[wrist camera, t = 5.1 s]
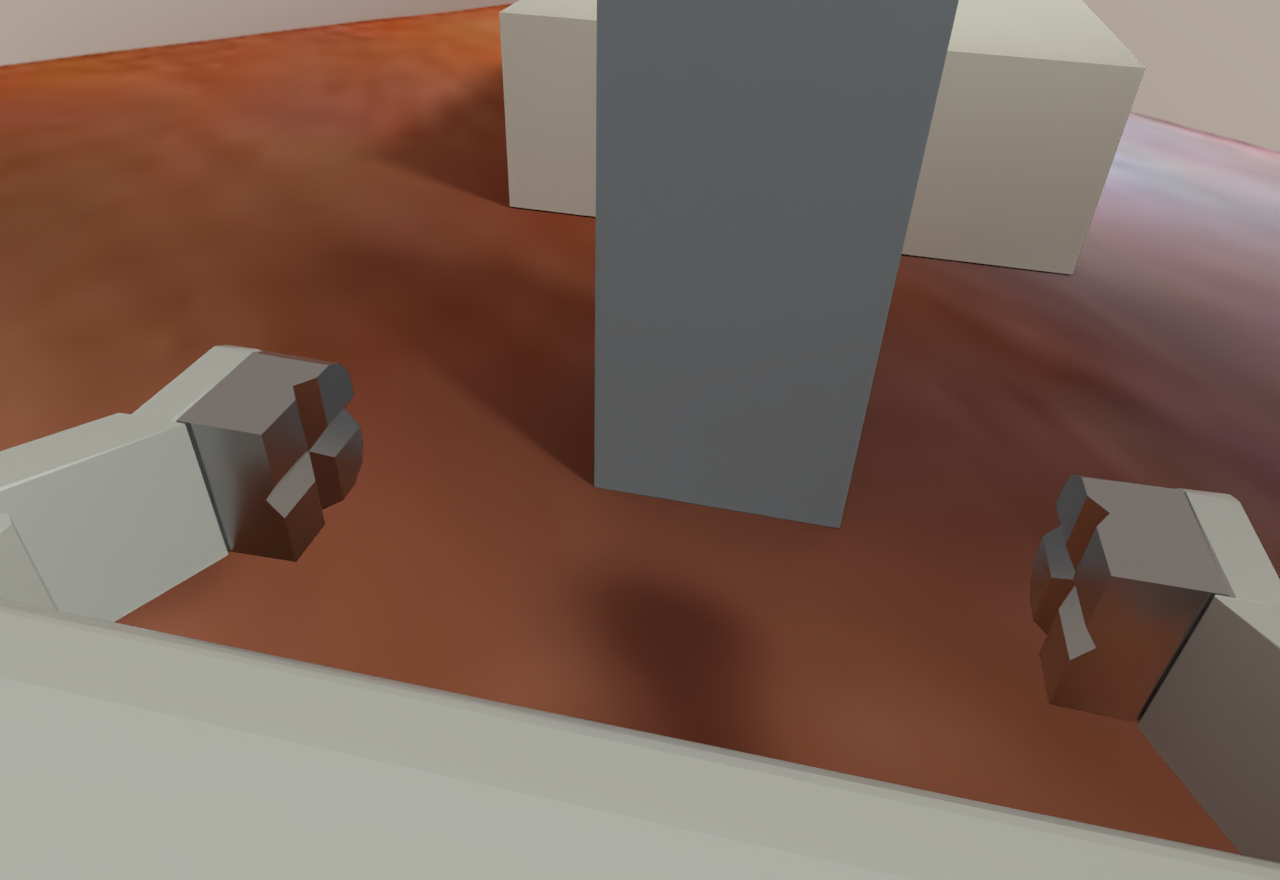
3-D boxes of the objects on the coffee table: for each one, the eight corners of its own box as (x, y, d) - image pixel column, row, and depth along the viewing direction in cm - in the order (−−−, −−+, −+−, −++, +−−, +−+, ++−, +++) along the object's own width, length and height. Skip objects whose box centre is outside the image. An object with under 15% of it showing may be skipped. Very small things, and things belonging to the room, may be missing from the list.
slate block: (847, 393, 22) (946, -85, 16) (839, 528, 18) (968, -42, 12) (645, 363, 22) (666, -103, 16) (594, 486, 18) (597, -68, 12)
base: (1017, 134, 38) (1062, -21, 35) (1072, 274, 27) (1145, 67, 24) (610, 94, 41) (612, -54, 37) (509, 206, 30) (499, 11, 26)
